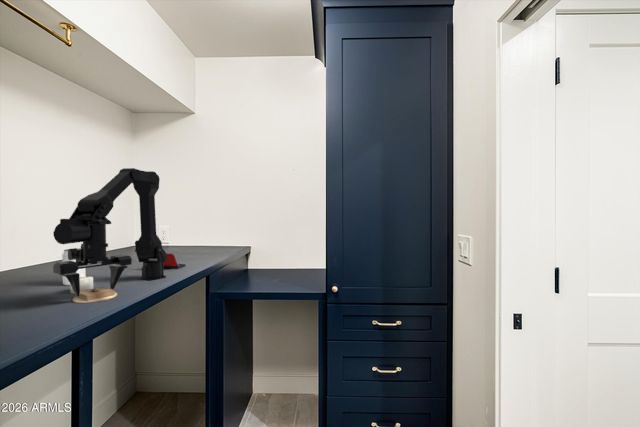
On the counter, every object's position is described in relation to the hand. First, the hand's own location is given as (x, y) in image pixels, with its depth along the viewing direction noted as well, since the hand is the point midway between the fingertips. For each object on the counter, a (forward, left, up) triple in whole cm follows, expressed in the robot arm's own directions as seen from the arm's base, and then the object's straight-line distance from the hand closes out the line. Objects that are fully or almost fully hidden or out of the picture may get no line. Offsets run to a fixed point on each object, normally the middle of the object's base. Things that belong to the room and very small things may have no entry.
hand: (95, 292), depth 98 cm
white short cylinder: (-1, -12, -2) cm, 12 cm away
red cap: (-38, -26, -2) cm, 46 cm away
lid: (0, 0, -1) cm, 1 cm away
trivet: (0, 0, -2) cm, 2 cm away
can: (-4, -26, -2) cm, 26 cm away
